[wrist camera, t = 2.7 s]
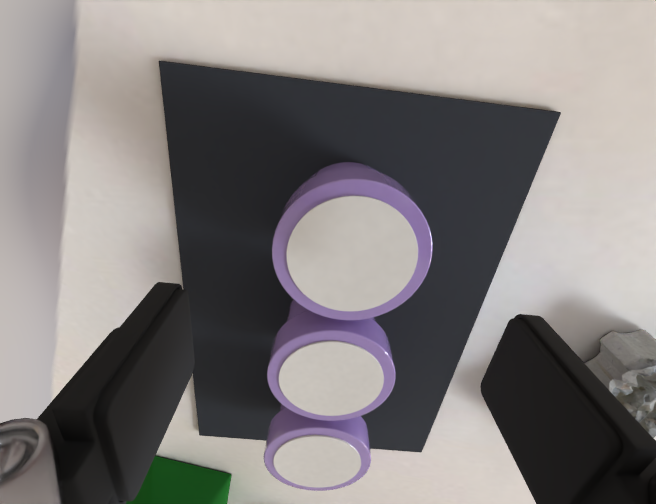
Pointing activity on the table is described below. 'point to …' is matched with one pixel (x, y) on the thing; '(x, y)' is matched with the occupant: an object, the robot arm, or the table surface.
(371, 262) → the purple short cylinder
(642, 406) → the egg carton
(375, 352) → the dish middle
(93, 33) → the table surface
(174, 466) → the milk carton
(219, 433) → the placemat
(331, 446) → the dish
